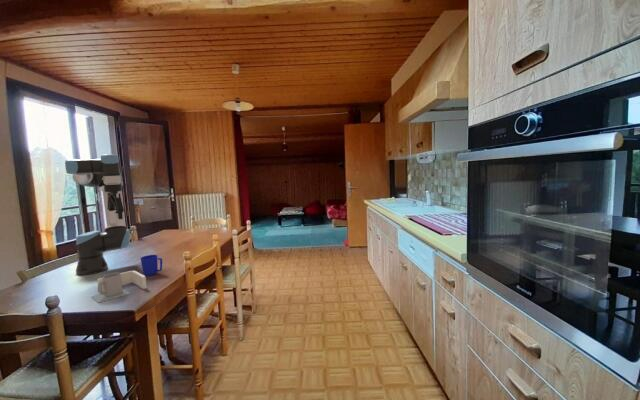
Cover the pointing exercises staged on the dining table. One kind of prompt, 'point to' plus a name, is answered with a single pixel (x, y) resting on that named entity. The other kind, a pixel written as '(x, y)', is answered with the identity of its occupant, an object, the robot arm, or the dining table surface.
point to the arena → (131, 279)
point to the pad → (102, 298)
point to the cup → (111, 284)
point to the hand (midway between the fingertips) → (117, 224)
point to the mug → (150, 264)
